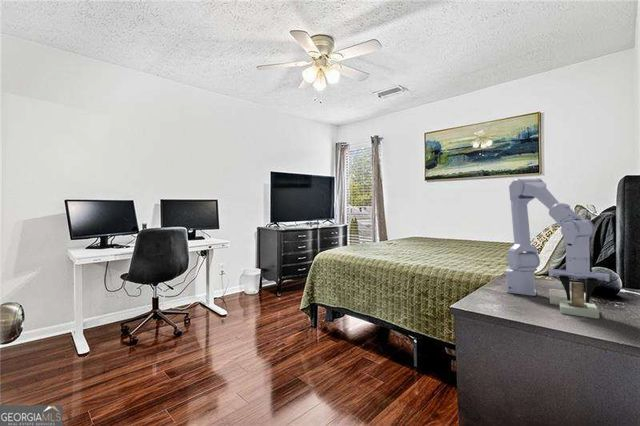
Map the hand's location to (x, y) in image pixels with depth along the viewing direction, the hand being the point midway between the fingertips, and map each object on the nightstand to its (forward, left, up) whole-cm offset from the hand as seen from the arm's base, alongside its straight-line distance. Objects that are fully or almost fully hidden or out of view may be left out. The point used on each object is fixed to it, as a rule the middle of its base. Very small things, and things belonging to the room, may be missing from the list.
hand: (577, 300), depth 97 cm
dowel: (0, 0, -3) cm, 3 cm away
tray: (-2, +10, -3) cm, 11 cm away
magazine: (+5, +33, -4) cm, 34 cm away
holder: (0, 0, -3) cm, 3 cm away
